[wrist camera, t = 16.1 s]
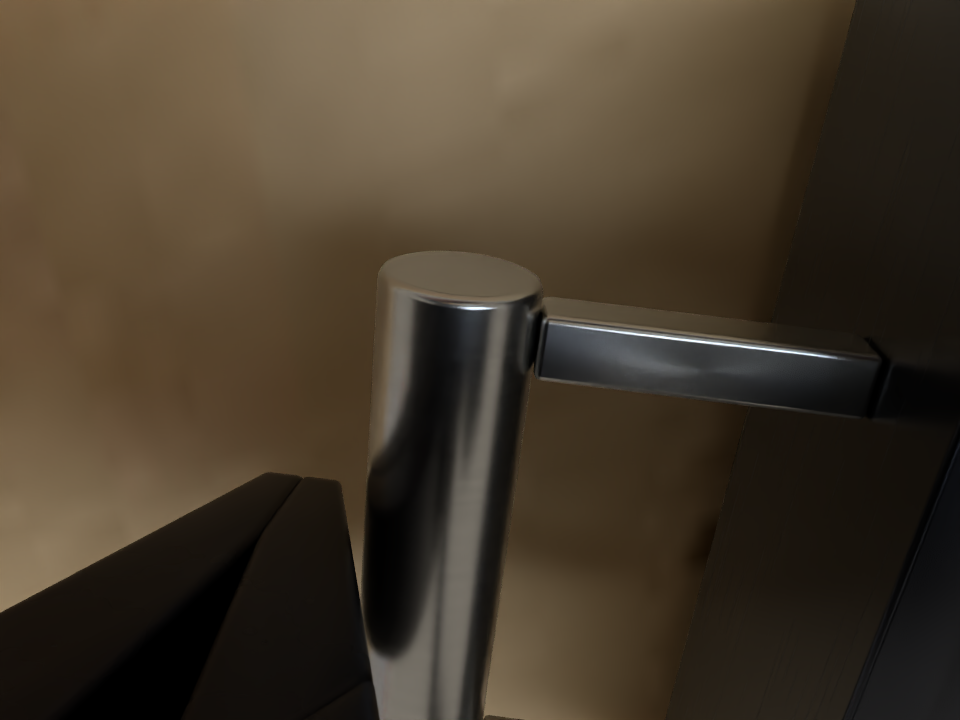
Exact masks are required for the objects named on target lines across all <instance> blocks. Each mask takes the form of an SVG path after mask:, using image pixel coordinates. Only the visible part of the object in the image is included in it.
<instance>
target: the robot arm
mask: <svg viewBox="0 0 960 720" xmlns="http://www.w3.org/2000/svg"><path fill="white" fill-rule="evenodd" d="M0 720H380V717H379V711H378V705H377V698H376V692H375V687H374V685H373V676H372V670H371V664H370V658H369V652H368V646H367V640H366V634H365V627H364V621H363V615H362V609H361V603H360V597H359V591H358V585H357V578H356V572H355V566H354V560H353V554H352V548H351V542H350V535H349V529H348V523H347V517H346V511H345V505H344V499H343V493H342V487H341V484H340V482H338V481H336V480H330V479H322V478H313V477H305V478H302V477H300V476H297V475H289V474H281V473H272V472H268V473H265V474H262V475H260V476H258V477H256V478H255V479H253V480H251V481H249V482H247V483H245V484H243V485H241V486H239V487H238V488H236V489H234V490H232V491H230V492H228V493H226V494H224V495H222V496H220V497H219V498H217V499H215V500H213V501H211V502H209V503H207V504H205V505H203V506H202V507H200V508H198V509H196V510H194V511H192V512H190V513H188V514H186V515H185V516H183V517H181V518H179V519H177V520H175V521H173V522H171V523H169V524H167V525H166V526H164V527H162V528H160V529H158V530H156V531H154V532H152V533H150V534H149V535H147V536H145V537H143V538H141V539H139V540H137V541H135V542H133V543H131V544H130V545H128V546H126V547H124V548H122V549H120V550H118V551H116V552H114V553H113V554H111V555H109V556H107V557H105V558H103V559H101V560H99V561H97V562H96V563H94V564H92V565H90V566H88V567H86V568H84V569H82V570H80V571H78V572H77V573H75V574H73V575H71V576H69V577H67V578H65V579H63V580H61V581H60V582H58V583H56V584H54V585H52V586H50V587H48V588H46V589H44V590H42V591H41V592H39V593H37V594H35V595H33V596H31V597H29V598H27V599H25V600H23V601H22V602H20V603H18V604H16V605H14V606H12V607H10V608H8V609H6V610H5V611H3V612H1V613H0Z"/></svg>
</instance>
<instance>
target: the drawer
mask: <svg viewBox="0 0 960 720" xmlns="http://www.w3.org/2000/svg"><path fill="white" fill-rule="evenodd" d="M543 292H544V291H543V287H542V283H541V280H540V279H539V277H538V276H537V275H536V274H534V273H533V272H531V271H530V270H528V269H526V268H524V267H522V266H520V265H517V264H515V263H512V262H510V261H507V260H504V259H500V258H497V257H493V256H488V255H483V254H477V253H470V252H461V251H422V252H414V253H409V254H404V255H400V256H397V257H393V258H391V259H389V260H387V261H386V262H385V263H384V264H383V265H382V267H381V269H380V271H379V273H378V276H377V295H376V313H375V332H374V351H373V369H372V388H371V407H370V425H369V444H368V463H367V482H366V500H365V519H364V538H363V556H362V575H361V594H360V603H361V609H362V615H363V621H364V627H365V634H366V640H367V646H368V652H369V658H370V664H371V670H372V676H373V685H374V687H375V692H376V698H377V705H378V711H379V717H380V720H522V719H515V718H507V717H500V716H492V715H487V716H485V717H484V719H483V716H484V709H485V702H486V695H487V688H488V680H489V673H490V666H491V659H492V652H493V645H494V638H495V631H496V624H497V617H498V610H499V603H500V596H501V589H502V582H503V575H504V568H505V560H506V553H507V546H508V539H509V532H510V525H511V518H512V511H513V504H514V497H515V490H516V483H517V476H518V469H519V462H520V455H521V448H522V440H523V433H524V426H525V419H526V412H527V405H528V398H529V391H530V384H531V377H532V370H533V363H534V371H533V372H534V375H535V378H536V379H538V380H541V381H549V382H557V383H565V384H573V385H581V386H589V387H597V388H605V389H613V390H621V391H630V392H638V393H646V394H654V395H662V396H670V397H678V398H686V399H694V400H702V401H710V402H719V403H727V404H735V405H743V406H748V410H747V414H746V418H745V422H744V425H743V429H742V433H741V437H740V440H739V444H738V448H737V452H736V455H735V459H734V463H733V467H732V470H731V474H730V478H729V482H728V485H727V489H726V493H725V497H724V500H723V504H722V508H721V512H720V516H719V519H718V523H717V527H716V531H715V534H714V538H713V542H712V546H711V549H710V553H709V557H708V561H707V564H706V568H705V572H704V576H703V579H702V583H701V587H700V591H699V594H698V598H697V602H696V606H695V610H694V613H693V617H692V621H691V625H690V628H689V632H688V636H687V640H686V643H685V647H684V651H683V655H682V658H681V662H680V666H679V670H678V673H677V677H676V681H675V685H674V688H673V692H672V696H671V700H670V704H669V707H668V711H667V715H666V719H665V720H960V0H856V4H855V8H854V12H853V15H852V19H851V23H850V27H849V30H848V34H847V38H846V42H845V46H844V49H843V53H842V57H841V61H840V64H839V68H838V72H837V76H836V79H835V83H834V87H833V91H832V94H831V98H830V102H829V106H828V109H827V113H826V117H825V121H824V124H823V128H822V132H821V136H820V140H819V143H818V147H817V151H816V155H815V158H814V162H813V166H812V170H811V173H810V177H809V181H808V185H807V188H806V192H805V196H804V200H803V203H802V207H801V211H800V215H799V218H798V222H797V226H796V230H795V234H794V237H793V241H792V245H791V249H790V252H789V256H788V260H787V264H786V267H785V271H784V275H783V279H782V282H781V286H780V290H779V294H778V297H777V301H776V305H775V309H774V312H773V316H772V320H771V323H765V322H757V321H749V320H741V319H732V318H724V317H716V316H708V315H699V314H691V313H683V312H674V311H666V310H658V309H650V308H641V307H633V306H625V305H617V304H608V303H600V302H592V301H583V300H575V299H567V298H559V297H550V296H549V297H545V298H543ZM542 299H543V300H542Z"/></svg>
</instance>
